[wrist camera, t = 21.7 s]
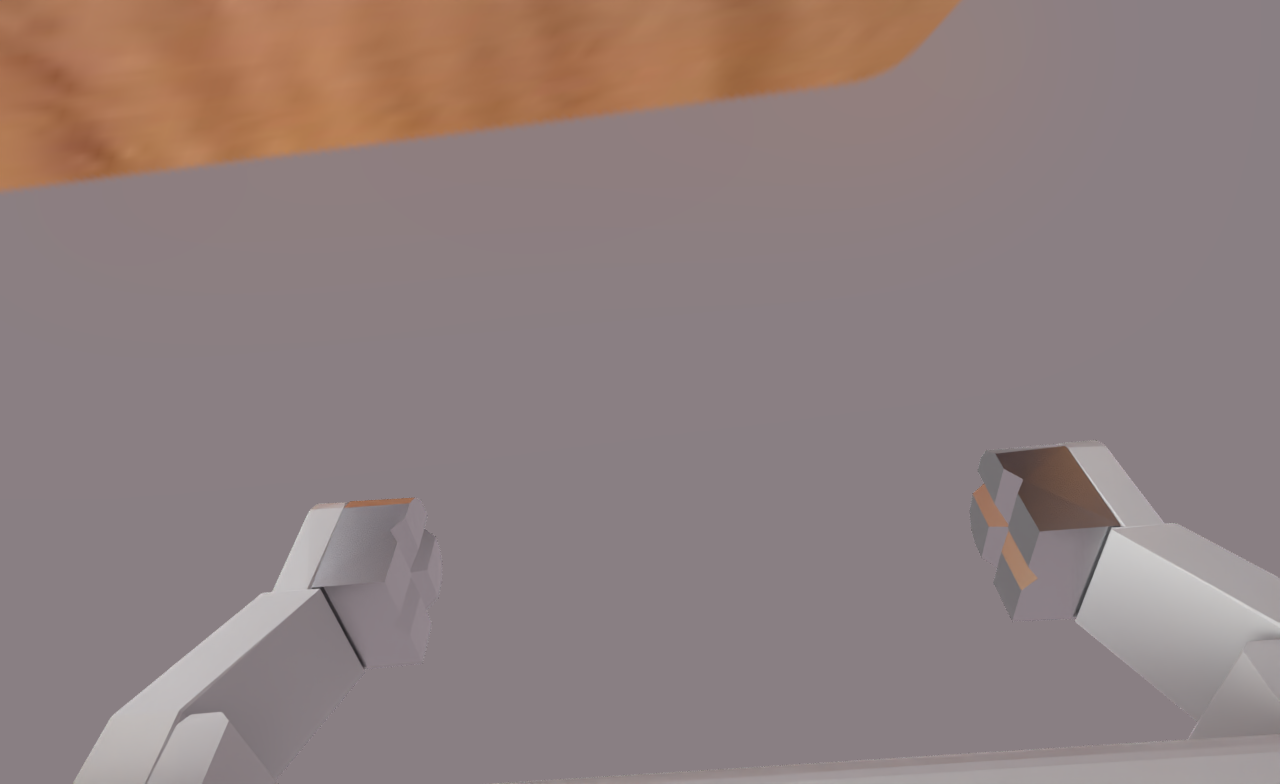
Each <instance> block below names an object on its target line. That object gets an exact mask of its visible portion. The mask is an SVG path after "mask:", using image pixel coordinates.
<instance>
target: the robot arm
mask: <svg viewBox="0 0 1280 784" xmlns="http://www.w3.org/2000/svg"><path fill="white" fill-rule="evenodd" d="M978 473H979V474H980V476H981V478H982V480H983V482H984V484H983V485H982V486H981V487H980V488H979V489H977V490H976V491H975V492H974V493H973V495H972V501H971V507H970V522H971V531H972V534H973V538H974V541H975V544H976V546H977V549H978V551H979V553H980V555H981V557H982V558H983V559H984V560H986V561H987V562H989V563H990V564H992V565H993V566H995V567H996V568H997V571H996V574H995V578H994V585H995V587H996V589H997V591H998V593H999V595H1000V597H1001V600H1002V602H1003V604H1004V606H1005V608H1006V610H1007V612H1008V614H1009V616H1010V618H1011V620H1012V622H1013V621H1035V620H1057V619H1076V621H1075V622H1076V623H1077V624H1079V625H1080V626H1081V627H1082V628H1084V629H1085V630H1086V631H1087V632H1088V633H1090V634H1091V635H1092V636H1093V637H1094V638H1096V639H1097V640H1098V641H1099V642H1100V643H1102V644H1103V645H1104V646H1105V647H1107V648H1108V649H1109V650H1110V651H1111V652H1113V653H1114V654H1115V655H1116V656H1117V657H1119V658H1120V659H1121V660H1122V661H1124V662H1125V663H1126V664H1127V665H1128V666H1130V667H1131V668H1132V669H1133V670H1135V671H1136V672H1137V673H1138V674H1139V675H1141V676H1142V677H1143V678H1144V679H1145V680H1147V681H1148V682H1149V683H1150V684H1152V685H1153V686H1154V687H1155V688H1156V689H1158V690H1159V691H1160V692H1161V693H1162V694H1164V695H1165V696H1166V697H1167V698H1169V699H1170V700H1171V701H1172V702H1173V703H1175V704H1176V705H1177V706H1178V707H1179V708H1181V709H1182V710H1183V711H1184V712H1186V713H1187V714H1188V715H1189V716H1191V717H1192V718H1193V719H1194V720H1195V721H1196V722H1197V724H1196V726H1195V727H1194V729H1193V731H1192V733H1191V734H1190V736H1189V737H1188V739H1187V740H1173V741H1157V742H1143V743H1126V744H1111V745H1095V746H1079V747H1064V748H1048V749H1031V750H1016V751H999V752H983V753H968V754H952V755H937V756H921V757H906V758H890V759H874V760H858V761H843V762H828V763H813V764H812V763H811V764H796V765H782V766H781V765H780V766H764V767H748V768H734V769H718V770H701V771H687V772H686V771H685V772H669V773H653V774H638V775H621V776H605V777H589V778H574V779H558V780H542V781H526V782H512V783H511V782H510V783H495V784H1280V578H1279V577H1277V576H1275V575H1273V574H1271V573H1269V572H1267V571H1265V570H1263V569H1262V568H1260V567H1258V566H1256V565H1254V564H1252V563H1250V562H1248V561H1247V560H1245V559H1243V558H1241V557H1239V556H1237V555H1235V554H1233V553H1232V552H1230V551H1228V550H1226V549H1224V548H1222V547H1220V546H1218V545H1217V544H1215V543H1212V542H1211V541H1209V540H1207V539H1205V538H1203V537H1202V536H1199V535H1198V534H1196V533H1194V532H1192V531H1190V530H1188V529H1186V528H1185V527H1183V526H1181V525H1179V524H1177V523H1168V524H1165V523H1164V522H1163V521H1162V519H1161V518H1160V517H1159V516H1158V514H1157V513H1156V512H1155V510H1154V509H1153V508H1152V507H1151V505H1150V504H1149V502H1148V501H1147V500H1146V498H1145V497H1144V496H1143V495H1142V493H1141V492H1140V491H1139V489H1138V488H1137V487H1136V485H1135V484H1134V483H1133V482H1132V480H1131V479H1130V477H1129V476H1128V475H1127V474H1126V472H1125V471H1124V470H1123V468H1122V467H1121V466H1120V464H1119V463H1118V462H1117V460H1116V459H1115V458H1114V456H1113V455H1112V454H1111V453H1110V451H1109V450H1108V449H1107V447H1106V446H1105V445H1104V444H1102V443H1101V442H1099V441H1097V440H1091V441H1081V442H1070V443H1060V444H1058V445H1056V444H1052V445H1041V446H1030V447H1019V448H1008V449H997V450H986V451H985V453H984V454H983V456H982V457H981V460H980V464H979V468H978ZM427 516H428V515H427V513H426V510H425V508H424V506H423V503H422V501H421V500H420V499H417V498H402V499H384V500H367V501H351V502H347V503H327V504H317V505H316V506H315V507H313V508H312V509H311V510H310V511H309V512H308V514H307V517H306V519H305V521H304V523H303V525H302V528H301V530H300V532H299V534H298V536H297V539H296V541H295V543H294V545H293V547H292V549H291V552H290V554H289V556H288V558H287V560H286V563H285V565H284V567H283V569H282V571H281V574H280V576H279V578H278V580H277V582H276V584H275V587H274V589H273V591H272V592H268V593H261V594H260V595H259V596H258V597H257V598H256V599H254V600H253V601H252V602H251V603H249V604H248V605H247V606H246V607H244V608H243V609H242V610H241V611H240V612H238V613H237V614H236V615H235V616H234V617H232V618H231V619H230V620H229V621H227V622H226V623H225V624H224V625H222V626H221V627H220V628H219V629H218V630H216V631H215V632H214V633H213V634H211V635H210V636H209V637H208V638H207V639H205V640H204V641H203V642H202V643H200V644H199V645H198V646H197V647H196V648H194V649H193V650H192V651H191V652H189V653H188V654H187V655H186V656H185V657H183V658H182V659H181V660H180V661H178V662H177V663H176V664H175V665H174V666H172V667H171V668H170V669H169V670H168V671H166V672H165V673H164V674H163V675H161V676H160V677H159V678H158V679H157V680H155V681H154V682H153V683H152V684H150V685H149V686H148V687H147V688H146V689H144V690H143V691H142V692H141V693H139V694H138V695H137V696H136V697H135V698H134V699H132V700H131V701H130V702H128V703H127V704H126V705H125V706H124V707H122V708H121V709H120V710H119V711H117V712H116V713H115V714H114V715H112V716H111V718H110V719H109V721H108V723H107V725H106V727H105V728H104V730H103V732H102V733H101V735H100V737H99V739H98V741H97V742H96V744H95V746H94V747H93V749H92V751H91V753H90V755H89V756H88V758H87V760H86V761H85V763H84V765H83V767H82V768H81V770H80V772H79V774H78V775H77V777H76V779H75V781H74V783H73V784H279V783H278V782H277V781H276V780H277V779H278V777H279V776H280V775H281V774H282V773H283V771H284V770H285V769H286V768H287V767H288V765H289V764H290V763H291V762H292V761H293V759H294V758H295V757H296V756H297V754H298V753H299V752H300V751H301V750H302V748H303V747H304V746H305V745H306V744H307V742H308V741H309V740H310V739H311V738H312V736H313V735H314V734H315V733H316V731H317V730H318V729H319V728H320V727H321V725H322V724H323V723H324V722H325V721H326V719H327V718H328V717H329V716H330V715H331V713H332V712H333V711H334V710H335V709H336V707H337V706H338V705H339V704H340V702H341V701H342V700H343V699H344V698H345V696H346V695H347V694H348V693H349V691H350V690H351V689H352V688H353V687H354V686H355V684H356V683H357V682H358V681H359V679H360V678H361V677H362V676H363V675H364V673H365V670H364V669H371V668H382V667H392V666H402V665H412V664H422V663H423V660H424V656H425V652H426V648H427V644H428V639H429V635H430V631H431V627H432V622H431V620H430V617H429V615H428V612H427V609H428V608H429V607H430V606H431V605H432V604H433V603H434V602H435V601H436V600H437V599H438V598H439V593H440V589H441V584H442V557H441V551H440V547H439V544H438V541H437V539H436V536H434V535H433V534H431V533H430V532H428V531H427V530H425V529H424V528H425V524H426V520H427Z"/></svg>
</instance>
